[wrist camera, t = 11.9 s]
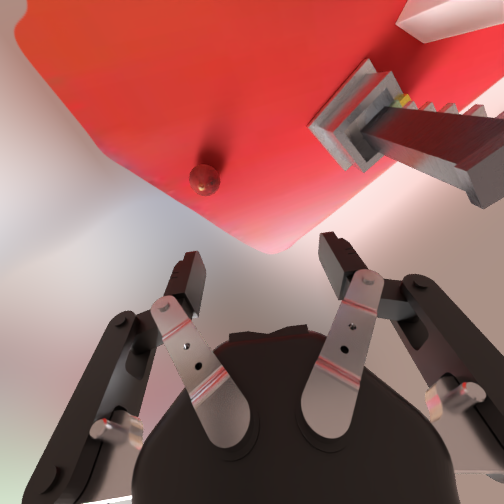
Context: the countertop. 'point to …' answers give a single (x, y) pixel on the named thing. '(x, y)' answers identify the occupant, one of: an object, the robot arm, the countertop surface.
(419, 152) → the column
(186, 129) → the countertop surface
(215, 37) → the countertop surface
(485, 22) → the milk
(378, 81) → the stand
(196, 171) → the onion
